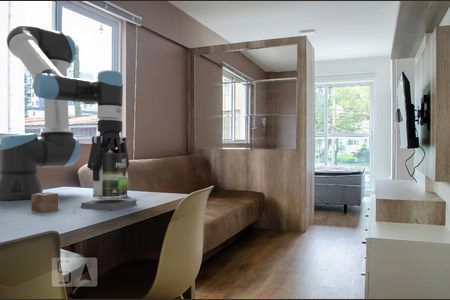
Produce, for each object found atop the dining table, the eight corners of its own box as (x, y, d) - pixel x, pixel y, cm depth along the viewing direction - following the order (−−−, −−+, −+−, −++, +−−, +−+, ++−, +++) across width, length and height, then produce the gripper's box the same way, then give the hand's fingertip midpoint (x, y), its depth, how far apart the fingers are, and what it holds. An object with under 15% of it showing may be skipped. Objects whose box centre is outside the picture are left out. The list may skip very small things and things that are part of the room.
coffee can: (132, 194, 117) (132, 152, 117) (116, 199, 107) (116, 153, 106) (103, 193, 119) (104, 152, 119) (85, 198, 109) (86, 152, 108)
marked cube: (31, 211, 103) (31, 193, 102) (45, 208, 107) (45, 191, 107) (44, 213, 101) (44, 194, 101) (58, 210, 105) (58, 192, 105)
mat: (81, 207, 109) (81, 202, 109) (106, 201, 121) (106, 197, 120) (112, 210, 105) (112, 205, 105) (136, 204, 116) (136, 199, 116)
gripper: (94, 117, 100) (94, 194, 101) (140, 122, 122) (140, 186, 122) (74, 117, 103) (73, 193, 104) (122, 122, 124) (122, 185, 125)
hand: (109, 189), depth 113 cm, fingers closed on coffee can, 10 cm apart
